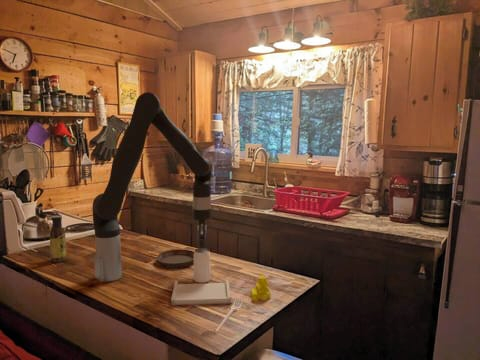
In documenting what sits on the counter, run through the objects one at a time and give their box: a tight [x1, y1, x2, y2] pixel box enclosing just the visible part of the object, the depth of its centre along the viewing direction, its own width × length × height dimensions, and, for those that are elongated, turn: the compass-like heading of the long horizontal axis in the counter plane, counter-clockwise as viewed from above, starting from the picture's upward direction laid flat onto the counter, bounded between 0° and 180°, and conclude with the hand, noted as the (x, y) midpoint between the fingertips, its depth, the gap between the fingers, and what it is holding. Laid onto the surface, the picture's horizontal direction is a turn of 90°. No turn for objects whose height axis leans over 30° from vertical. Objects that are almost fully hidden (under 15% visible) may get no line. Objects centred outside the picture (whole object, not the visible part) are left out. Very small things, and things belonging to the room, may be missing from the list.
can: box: [193, 247, 211, 284], centre depth 149 cm, size 6×6×12 cm
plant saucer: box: [156, 248, 195, 268], centre depth 170 cm, size 18×18×3 cm
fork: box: [215, 297, 244, 332], centre depth 121 cm, size 3×20×2 cm, turn 160°
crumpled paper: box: [250, 274, 271, 301], centre depth 135 cm, size 6×8×8 cm
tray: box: [170, 279, 232, 306], centre depth 137 cm, size 16×20×2 cm
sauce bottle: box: [49, 215, 67, 263], centre depth 169 cm, size 6×6×20 cm
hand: (202, 248), depth 158 cm, fingers closed
